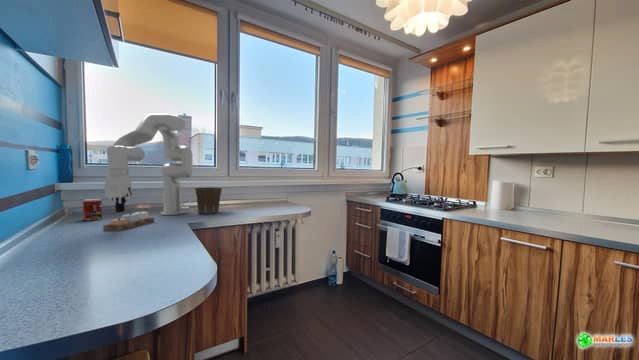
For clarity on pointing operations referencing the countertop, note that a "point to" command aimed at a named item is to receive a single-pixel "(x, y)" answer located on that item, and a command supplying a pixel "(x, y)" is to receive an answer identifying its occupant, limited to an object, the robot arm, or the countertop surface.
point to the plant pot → (208, 200)
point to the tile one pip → (142, 215)
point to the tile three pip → (118, 221)
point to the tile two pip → (131, 217)
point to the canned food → (92, 208)
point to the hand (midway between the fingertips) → (120, 211)
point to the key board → (127, 225)
